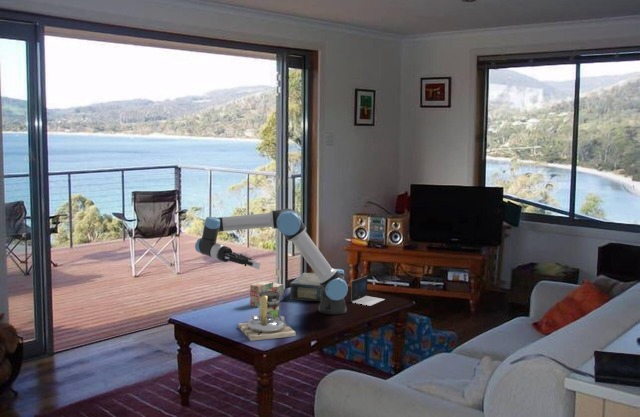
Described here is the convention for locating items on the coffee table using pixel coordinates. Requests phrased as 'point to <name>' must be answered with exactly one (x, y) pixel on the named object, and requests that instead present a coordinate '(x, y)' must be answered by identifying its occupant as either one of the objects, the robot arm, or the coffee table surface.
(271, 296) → the coffee can
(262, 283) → the stack of blocks
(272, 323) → the disc stand with rod
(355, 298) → the laptop
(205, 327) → the coffee table surface
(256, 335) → the base board
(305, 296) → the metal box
